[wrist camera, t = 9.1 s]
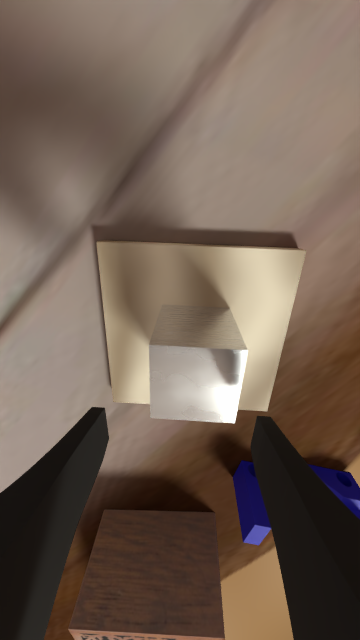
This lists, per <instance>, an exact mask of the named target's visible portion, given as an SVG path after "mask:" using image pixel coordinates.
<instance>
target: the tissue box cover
mask: <svg viewBox="0 0 360 640" xmlns="http://www.w3.org/2000/svg"><path fill="white" fill-rule="evenodd" d="M69 631H70V633H71V634H72V636H73V638H74V639H75V640H225V635H224V622H223V610H222V597H221V584H220V572H219V559H218V546H217V534H216V521H215V512H182V511H147V510H111V509H104V512H103V515H102V518H101V522H100V525H99V528H98V532H97V535H96V538H95V542H94V545H93V548H92V552H91V555H90V559H89V562H88V565H87V569H86V572H85V575H84V579H83V582H82V585H81V589H80V592H79V595H78V599H77V602H76V605H75V609H74V612H73V615H72V619H71V622H70V625H69Z"/></svg>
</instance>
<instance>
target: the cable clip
mask: <svg viewBox="0 0 360 640" xmlns="http://www.w3.org/2000/svg"><path fill="white" fill-rule="evenodd" d="M308 465H309V464H308ZM309 466H310V467H311V469H312V470H313V471H314V472H315V473H316V474H317V475H318V477H319V478H320V479H321V480H322V481H323V482H324V483H325V484H326V485H327V487H328V488H329V489H330V490H331V491H332V492H333V493H334V494H335V495H336V496H337V497H338V498H339V499H340V500H341V501H342V502H343V503H344V504H345V505H346V506H347V507H348V508H349V509H350V510H351V511H352V512H353V513H354V514H355V515H356V516H357V517H358V518H359V519H360V488H359V486H358V484H357V483H356V481H355V479H354V478H353V476H352V475H351V473H350V472H347V471H345V472H342V471H337V470H333V469H328V468H323V467H318V466H314V465H309ZM233 481H234V487H235V493H236V500H237V506H238V512H239V519H240V525H241V531H242V538H243V542H245V543H250V544H256V545H259V544H260V543H261V541H262V540H263V539H264V537H265V536H266V535H267V533H268V532H269V531H270V529H271V526H270V522H269V519H268V515H267V512H266V508H265V505H264V501H263V498H262V495H261V491H260V488H259V484H258V481H257V477H256V473H255V469H254V464H253V463H252V462H247V461H241V463H240V465H239V467H238V468H237V470H236V472H235V474H234V476H233Z"/></svg>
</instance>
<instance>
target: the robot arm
mask: <svg viewBox="0 0 360 640" xmlns="http://www.w3.org/2000/svg"><path fill="white" fill-rule="evenodd" d="M108 440H109V435H108V428H107V420H106V413H105V408H99V407H92V408H91V409H90V410H89V411H88V412H87V413H86V414H85V415H84V416H83V417H82V418H81V419H80V420H79V421H78V422H77V423H76V424H75V426H74V427H73V428H72V429H71V430H70V431H69V432H68V433H67V434H66V435H65V436H64V437H63V438H62V439H61V440H60V441H59V442H58V443H57V444H56V445H55V446H54V447H53V448H52V449H51V450H50V451H49V452H47V453H46V454H45V455H44V456H43V457H42V458H41V459H40V460H39V461H38V462H37V463H36V464H35V465H33V466H32V467H31V468H30V469H29V470H28V471H27V472H25V473H24V474H23V475H22V476H21V477H20V478H18V479H17V480H16V481H15V482H14V483H12V484H11V485H10V486H9V487H7V488H6V489H5V490H4V491H2V492H1V493H0V640H44V636H45V632H46V629H47V625H48V622H49V618H50V615H51V611H52V608H53V604H54V600H55V597H56V593H57V590H58V586H59V583H60V580H61V576H62V573H63V570H64V566H65V563H66V560H67V556H68V553H69V550H70V547H71V544H72V540H73V537H74V534H75V531H76V528H77V525H78V522H79V520H80V517H81V514H82V512H83V509H84V507H85V504H86V502H87V499H88V497H89V494H90V492H91V489H92V487H93V484H94V482H95V479H96V477H97V474H98V472H99V469H100V467H101V464H102V461H103V458H104V455H105V451H106V447H107V444H108ZM250 447H251V453H252V459H253V464H254V469H255V473H256V477H257V481H258V484H259V488H260V491H261V495H262V498H263V501H264V505H265V508H266V512H267V515H268V519H269V522H270V526H271V529H272V533H273V537H274V541H275V545H276V550H277V555H278V559H279V564H280V569H281V574H282V579H283V583H284V589H285V594H286V599H287V605H288V609H289V615H290V620H291V626H292V632H293V638H294V640H360V519H359V518H358V517H357V516H356V515H355V514H354V513H353V512H352V511H351V510H350V509H349V508H348V507H347V506H346V505H345V504H344V503H343V502H342V501H341V500H340V499H339V498H338V497H337V496H336V495H335V494H334V493H333V492H332V491H331V490H330V489H329V488H328V487H327V485H326V484H325V483H324V482H323V481H322V480H321V479H320V478H319V477H318V475H317V474H316V473H315V472H314V471H313V470H312V469H311V467H310V466H309V465H308V464H307V463H306V461H305V460H304V459H303V458H302V457H301V455H300V454H299V453H298V452H297V450H296V449H295V448H294V447H293V445H292V444H291V443H290V442H289V440H288V439H287V438H286V437H285V435H284V434H283V433H282V431H281V430H280V429H279V427H278V426H277V425H276V423H275V422H274V421H273V419H272V418H271V417H265V416H257V419H256V423H255V428H254V432H253V437H252V442H251V446H250Z"/></svg>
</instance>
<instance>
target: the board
mask: <svg viewBox="0 0 360 640" xmlns="http://www.w3.org/2000/svg"><path fill="white" fill-rule="evenodd" d="M96 243H97V253H98V262H99V272H100V281H101V290H102V300H103V309H104V319H105V328H106V338H107V347H108V357H109V366H110V376H111V385H112V395H113V402H123V403H140V404H150V374H149V343H150V340H151V337H152V334H153V331H154V328H155V325H156V322H157V319H158V316H159V313H160V310H161V307H162V304H163V305H183V306H203V307H222V308H230V309H231V312H232V314H233V316H234V319H235V321H236V323H237V326H238V328H239V330H240V333H241V335H242V338H243V340H244V342H245V345H246V347H247V349H248V352H247V358H246V364H245V369H244V375H243V380H242V386H241V391H240V397H239V402H238V408H237V409H240V410H256V411H267V409H268V405H269V401H270V397H271V393H272V389H273V385H274V381H275V376H276V372H277V368H278V364H279V360H280V356H281V352H282V348H283V344H284V340H285V336H286V332H287V328H288V324H289V319H290V315H291V311H292V307H293V303H294V299H295V295H296V291H297V287H298V283H299V279H300V275H301V271H302V267H303V262H304V258H305V254H306V250H303V249H299V248H278V247H253V246H229V245H204V244H180V243H155V242H131V241H107V240H102V241H98V242H96Z"/></svg>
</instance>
